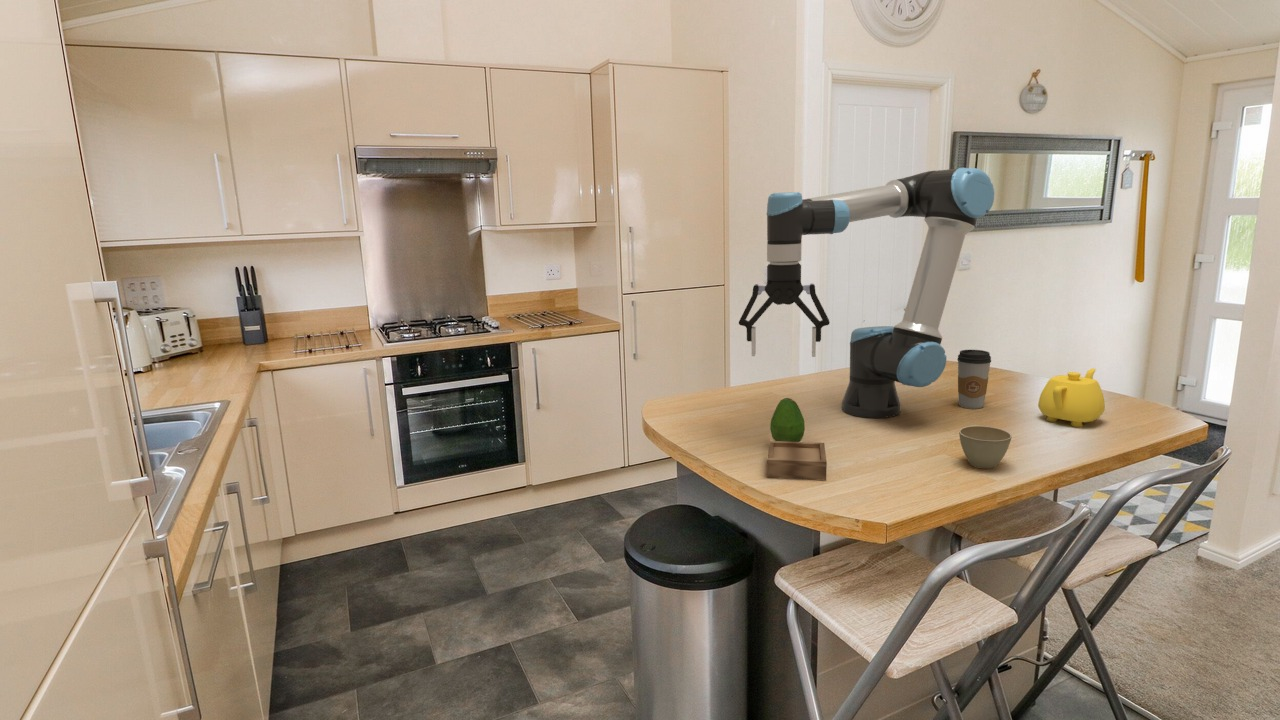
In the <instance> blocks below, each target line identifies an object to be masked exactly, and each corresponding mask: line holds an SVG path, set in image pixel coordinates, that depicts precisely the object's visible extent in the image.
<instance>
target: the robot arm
mask: <svg viewBox="0 0 1280 720" xmlns="http://www.w3.org/2000/svg"><path fill="white" fill-rule="evenodd" d="M994 200H995V188H994V185H993V183H992V181H991V178H990V176H989V175H988V174H987V173H986V172H985V171H983V170H982V169H980V168H975V167H971V168H970V167H958V168H951V169H942V170H941V169H939V170H928V171H925V172H924V171H923V172H920V173H918V174H917V173H916V174H914V175H910V176H907V177H902V178H898V179H892V180H889V181H888V182H887V183H886V184H885V185H882V186H874V187H870V188H862V189H857V190H851V191H845V192H839V193H833V194H829V195H821V196H815V197H810V198H809V197H808V198H805V199H803V195H802V193H801V192H800V191H795V192H793V191H792V192H773V193H771V194H769V196H768V198H767V207H766V221H767V222H766V225H767V226H766V231H767V233H766V235H767V239H766V240H767V242H766V243H767V244H766V261H767V262H768V264H767V265H766V285H759V284H758V283H757V284H754V285H753V287H752V295H751V297H750V298H749V301H748V303H747V305H746V306H745V309H744V310H743V313H742V315H741V317H740V318H739V321H738V325H739V326H742V327H745V329H746V342H751V357H756V352H757V351H756V350H757V349H756V348H757V347H756V342H757V341H756V340H757V339H756V334H757V333H756V331H757V329H756V328H757V327H756V326H754V325H755V323H756V322H757V321H758V320H759V319H760V318H761V316H763V314H765V312H766V311H767V310H768V308H769V307H770V306H771V305H772V304H775V305H784V304H785V305H793V304H794V303H795V305H796V307H798V308H799V310H801V311H802V312H803V314H804V315H805V316H806V317H807V318H808V319H809V321H810V322H811V323H812V324H813V325H814V326H812V327H811V332H812V333H811V357H812V358H816V352H817V351H816V346H817V343H820V342H821V340H822V328H823V327H825V326H829V325H830V318H829V317H828V315H827V313H826V311H825V309H824V307H823V304H822V303H821V301H820V299H819V298H818V295H817V294H816V286H815V283H810V284H804V285H803V284H802V264H800V262H801V261H802V238H803V237H802V236H806V235H807V236H808V235H828V234H829V235H834V234H838V233H843V232H845V230H846V229H847V228H848V226H849V223H855V222H859V221H863V220H869V219H875V218H881V217H886V216H889V217H890V218H895V219H896V218H902V217H903V218H904V217H917V218H919V217H920V218H924V220H923V221H924V222H925V224H926V225H927V227H928V229H927V233H926V236H925V240H924V243H923V247H922V249H921V253H920V258H919V261H918V265H917V268H916V271H915V275H914V278H913V281H912V286H911V289H910V291H909V296H908V300H907V303H906V306H905V307H906V308H905V309H904V313H903V316H902V317H903V318H902V320H901V321H900V322H899V323H897V324H895V325H894V326H893V325H892V326H890V325H888V326H887V325H885V326H884V325H883V326H869V327H868V326H867V327H858V328H855V329H853V330H852V332H851V334H850V335H851V336H850V340H849V341H850V342H849V383H848V385H847V387H846V390H845V393H844V396H843V399H842V403H841V409H842V411H843V412H844V413H846V414H848V415H851V416H854V417H860V418H868V419H882V418H883V419H885V418H890V417H891V418H892V417H895V416H897V415H900V413H901V400H900V397H899V396H898V395H899V394H898V391H897V388H896V384H895V383H896V382H897V383H900V384H902V385H905V386H908V387H915V388H925V387H927V386H930V385H931V384H933V383H935V382H936V381H937V380H938V379H939V378H940V377H941V376H942V374H943V372H944V371H945V368H946V364H947V354H946V350H945V348H944V347H943V346H942V341H943V336H942V334H941V333H940V330H939V328H940V323H941V320H942V318H943V314H944V310H945V306H946V303H947V299H948V297H949V292H950V290H951V287H952V282H953V279H954V276H955V272H956V268H957V264H958V261H959V258H960V254H961V251H962V248H963V244H964V240H965V238H966V235H967V234H968V233H970V232H971V231H973V230H974V229H976V227H975V226H976V224H977V220H978V219H980V218H982V217H984V216H985V215H986V214H987V213H989V212H990V211H991V209H992V207H993V205H994ZM763 292H765V293H766V295H767V297H768V298H767V299H766V300H765V301H764V302H763V304H762V305H761V306H760V307H759V309H758V310H757V311H756V312H755V313H754V314H753V316H751V318H750V319H749V320H747V319H748V316H749V314H750V313H751V310H752V308H753V307H754V304H755V303H756V300H757V298H758V296H760V295H761V294H762V293H763ZM803 292H805V293H806V294H807V295H810V298H811V301H812V302H813V304H814V306H815V308H816V310H817V312H818V315H819V317H820V319H821V320H819V318H817V316H816V315H815V314H814V313H813V311H812V310H810V308H809V307H808V306H807V305H806V303H804V301H803V300H802V299H801V297H800V295H801V294H802V293H803Z"/></svg>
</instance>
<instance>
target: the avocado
mask: <svg viewBox="0 0 1280 720" xmlns="http://www.w3.org/2000/svg"><path fill="white" fill-rule="evenodd" d="M769 425H770V426H769V427H770V428H769V430H770V433H771V437H772V439H773V441H787V442H802V439H803V437H804V435H805V430H806V426H805V419H804V416H803V413H802V410H801V409H800V407H799V405H798V403H797V402H796V401H795V400H794V399H792V398H791V397H785V398H783V399H780V401H779V402H778V404H777V406H776V408H775V410H774V412H773V414H772V417H771V420H770V424H769Z"/></svg>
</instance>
